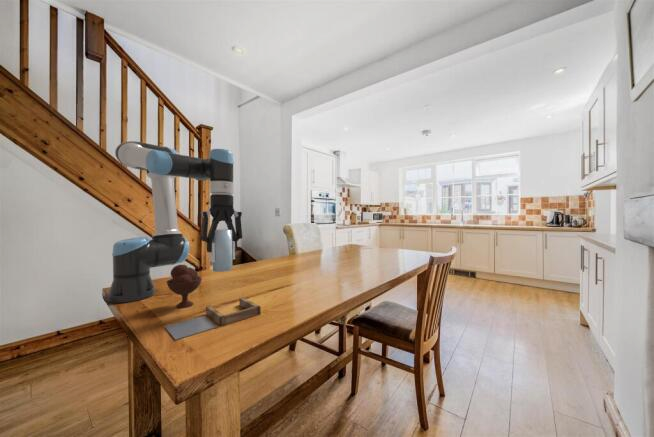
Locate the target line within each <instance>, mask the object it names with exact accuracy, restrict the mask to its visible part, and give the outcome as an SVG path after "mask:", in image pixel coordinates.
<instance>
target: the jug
mask: <svg viewBox="0 0 654 437" xmlns="http://www.w3.org/2000/svg"><path fill="white" fill-rule="evenodd" d="M212 242H213V243H215V262H212V272H214V273H215V272H217V273H218V272H219V273H221V272H223V273H224V272H228V271H232V270H233V259H232V230H228V228H226V229H216V230H215V235H214V238H213V241H212Z"/></svg>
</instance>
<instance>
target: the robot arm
mask: <svg viewBox="0 0 654 437" xmlns="http://www.w3.org/2000/svg"><path fill="white" fill-rule="evenodd" d="M114 153H115V157H116V159H117V161H118V162H119V163H120V164H121V165H123V166H124V167H125V166H126V167H128V168H131V169H135V170H143V171H145V172H146V176H147V177H148V178H149V179H150V180H151V193H152V202H153V203H152V204H153V214H154V217H153V218H154V227H155V228H154V229H155V232H154V233H153V234H152V235H151V239H150V237H148V236H141V237H134V238H133V237H132V238H126V239H121V240H118V241H116V242H115V243H114V244H113V246H112V253H111V254H112V274H113V276H112V279H113V280H112V283H111V285H110V287H109V290H108V293H107V302H109V303H115V304H117V303H118V304H119V303H127V302H128V303H129V302H136V301H140V300H144V299H148V298H150V297H152V296H154V295H155V294H156V287H155V283H154V282H153V280H152V277H151V273H150V272H151V271H150V270H151V268H157V267H166V266H170V265H171V266H172V265H173V266H174V265H178V264H181V263H183V262H184V261H186V260H187V258H188V256H189V252H190V243H189V239H188V238H187V237H184V236H183V233H182V231H180V230H179V226H178V213H177V204H176V202H177V201H176V192H175V183H174V182H175V180H174V179H175V178H177V177H180V178H185V179H186V178H187V179H194V180H196V181H205V182H206V181H209V184H210V186H209V193H210V196H209V199H210V200H209V201H210V202H209V204H210V206H209V207H210V208H209V209H208V210H206V211H205V210H204V211H201V212H200V216H201V228H200V238H199V239H200V241H202V242H205V243H206V252H207V253H209V262H210V263H213V262H215V243H213V242H212V241H213V238H214V235H215V230H218V229H217V228H218V225H219V223H220V222H224V223H225V224H226V227H227V229H228V230H232V260H236V251H237V249H238V241H239V240H241V239H243V229H242V214H243V213H242V211H238V210H237V211H236V210H235V209H234V195H233V194H234V157H233V156H234V155H233V153H232V151H230V150H229V149H224V148H213V149H210V151H209V155H208V156H209V157H208V158H201V157H195V156H191V155H190V156H189V155H185V154H179V152H178V151H177V150H176V149H174V148H170V147H168V146H162V145H158V144H157V145H156V144H152V143H146V142H140V141H137V140H136V141H124V142H122V143H120V144H118V145H117V147H116V148H115V151H114ZM210 215H211V217H212V220H211V225H210V228H209V218H210ZM232 217H234V223H233V219H232ZM234 226H235V227H234ZM208 229H209V230H208Z"/></svg>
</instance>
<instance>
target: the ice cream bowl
mask: <svg viewBox="0 0 654 437" xmlns="http://www.w3.org/2000/svg"><path fill="white" fill-rule="evenodd" d="M170 276H171V278H170V279H168V280H166V285H167V287H168V289H169V290H170V291H171V292H172V293H174V294H176V295H179V296H181V302H179V303H177V304H176V306H175V308H177V309H187V308H190V307H193V306H194V302H193V301H191V300H189V299H188V298H189V297H188V296H189V295H190V294H192V293H193V292H194V291H195V290H196V289H198V288H199V287H200V285H201V283H202V279H203V278H202V277H201V276H199V274H198V271H197V270H195V269H194V268H192V267H190V266H189V267H188V265H186V264H176V265H175V266H173V267H172V269H171V271H170Z"/></svg>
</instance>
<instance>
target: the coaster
mask: <svg viewBox="0 0 654 437" xmlns="http://www.w3.org/2000/svg"><path fill="white" fill-rule="evenodd" d="M216 328H219V326H218V325H217V324H216V323H215V322H213V321H212V320H211V319H209V318H208V317H207V315H206V316H205V315H201V316H197V317H195V318H191V319H187V320H184V321H183V320H182V321H179V322H176V323H172V324H167V325H165V326H164V329H166V331H167V332H168V333H169V334H170V336H171V337H172V338H173V339H174V341H179V340H181V339H184V338H188V337H190V336H191V337H192V336H195V335H197V334H198V335H199V334H200V333H203V332H208V331H211V330H213V329H216Z"/></svg>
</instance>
